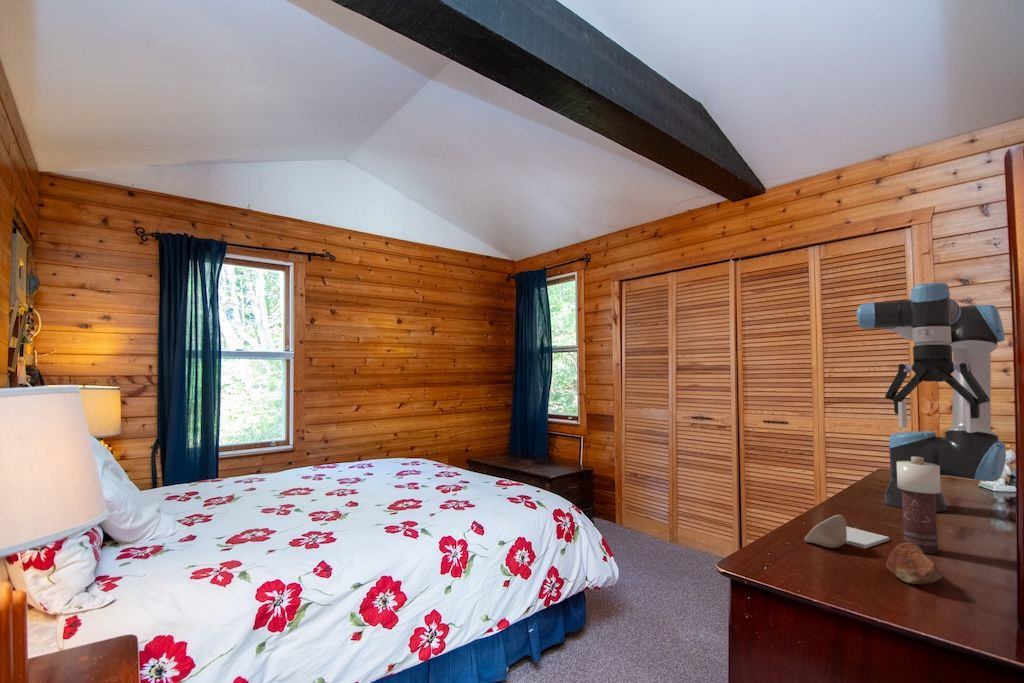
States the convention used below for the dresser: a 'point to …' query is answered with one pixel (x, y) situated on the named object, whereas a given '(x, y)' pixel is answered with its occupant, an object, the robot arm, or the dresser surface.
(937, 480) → the cloche
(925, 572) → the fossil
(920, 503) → the can
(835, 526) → the stone
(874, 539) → the mat
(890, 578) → the dresser surface
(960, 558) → the dresser surface
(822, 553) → the dresser surface
